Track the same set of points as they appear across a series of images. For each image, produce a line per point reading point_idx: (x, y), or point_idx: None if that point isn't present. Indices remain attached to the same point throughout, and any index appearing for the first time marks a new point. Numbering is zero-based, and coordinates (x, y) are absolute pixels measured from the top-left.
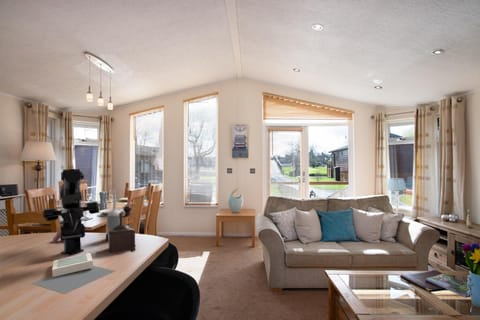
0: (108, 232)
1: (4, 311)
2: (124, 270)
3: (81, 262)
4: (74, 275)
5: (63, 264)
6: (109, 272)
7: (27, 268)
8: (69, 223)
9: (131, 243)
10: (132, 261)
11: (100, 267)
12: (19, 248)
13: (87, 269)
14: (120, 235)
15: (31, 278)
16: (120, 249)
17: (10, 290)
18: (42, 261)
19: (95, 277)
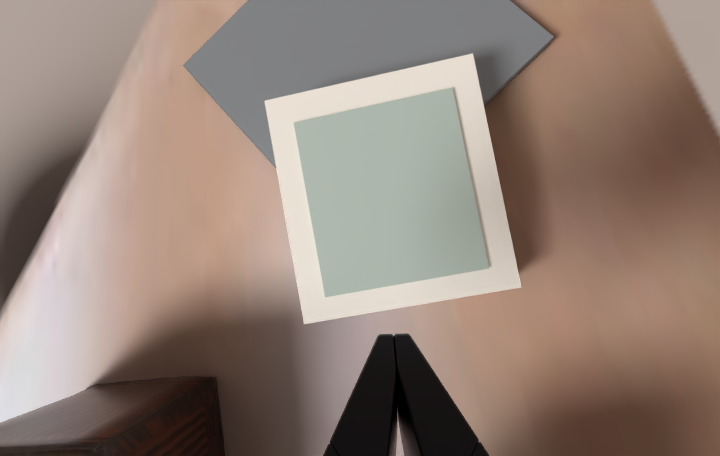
0: None
1: None
2: (155, 93)
3: (324, 99)
4: (361, 71)
5: (425, 113)
6: (209, 56)
7: (679, 336)
8: (453, 421)
9: (55, 406)
10: (114, 204)
11: (251, 139)
12: None
13: None
14: (47, 434)
15: (584, 146)
16: (144, 387)
17: (634, 19)
18: (624, 449)
19: (264, 15)
